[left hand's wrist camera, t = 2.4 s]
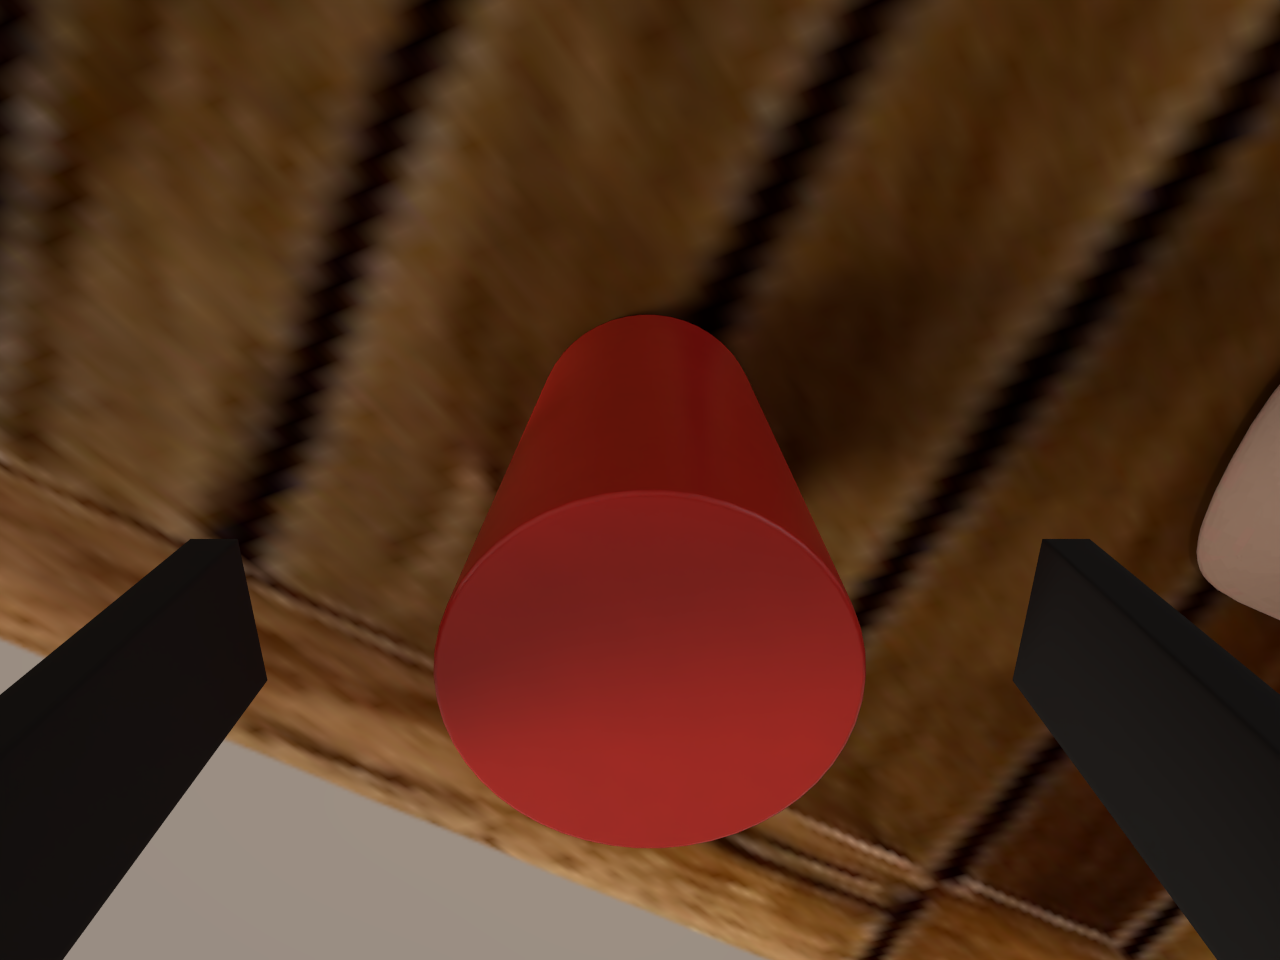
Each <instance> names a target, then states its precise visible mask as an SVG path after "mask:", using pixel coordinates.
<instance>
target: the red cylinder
mask: <svg viewBox="0 0 1280 960" xmlns="http://www.w3.org/2000/svg"><path fill="white" fill-rule="evenodd" d="M865 678H866V662H865V648H864V643H863V637H862V632H861V627H860V624H859V622H858V619H857V616H856V613H855V611H854V608H853V605H852V603H851V601H850V598H849V596H848V594H847V592H846V590H845V588H844V586H843V583H842V581H841V579H840V577H839V575H838V573H837V570H836V568H835V566H834V564H833V562H832V560H831V558H830V555H829V553H828V551H827V549H826V547H825V545H824V542H823V540H822V538H821V536H820V534H819V532H818V530H817V527H816V525H815V523H814V521H813V519H812V517H811V514H810V512H809V510H808V508H807V506H806V504H805V502H804V499H803V497H802V495H801V493H800V491H799V489H798V486H797V484H796V482H795V480H794V478H793V476H792V474H791V471H790V469H789V467H788V465H787V463H786V461H785V458H784V456H783V454H782V452H781V450H780V448H779V446H778V443H777V441H776V439H775V437H774V435H773V433H772V430H771V428H770V426H769V424H768V422H767V420H766V418H765V415H764V413H763V411H762V409H761V407H760V405H759V402H758V400H757V398H756V396H755V394H754V392H753V390H752V387H751V385H750V383H749V381H748V379H747V377H746V375H745V373H744V371H743V369H742V367H741V365H740V364H739V362H738V361H737V360H736V358H735V357H734V356H733V354H732V353H731V352H730V351H729V350H728V349H727V348H726V347H725V346H724V345H723V344H722V343H721V342H720V341H719V340H718V339H716V338H715V337H714V336H712V335H711V334H710V333H708V332H706V331H705V330H703V329H701V328H700V327H698V326H696V325H693V324H691V323H688V322H686V321H683V320H680V319H676V318H672V317H667V316H660V315H635V316H628V317H623V318H619V319H615V320H612V321H609V322H607V323H604V324H602V325H599V326H597V327H596V328H594V329H592V330H590V331H589V332H587V333H585V334H584V335H583V336H581V337H580V338H579V339H577V340H576V341H575V342H574V343H573V344H572V345H571V346H570V347H569V348H568V349H567V350H566V351H565V352H564V353H563V354H562V356H561V357H560V358H559V360H558V361H557V362H556V364H555V365H554V367H553V369H552V371H551V373H550V375H549V376H548V379H547V381H546V383H545V385H544V388H543V390H542V392H541V394H540V397H539V399H538V401H537V403H536V406H535V408H534V410H533V412H532V415H531V417H530V419H529V421H528V424H527V426H526V428H525V430H524V433H523V435H522V437H521V439H520V442H519V444H518V446H517V448H516V451H515V453H514V455H513V457H512V460H511V462H510V464H509V467H508V469H507V471H506V473H505V476H504V478H503V480H502V482H501V485H500V487H499V489H498V491H497V494H496V496H495V498H494V500H493V503H492V505H491V507H490V509H489V512H488V514H487V516H486V518H485V521H484V523H483V525H482V527H481V530H480V532H479V534H478V536H477V539H476V541H475V543H474V545H473V548H472V550H471V552H470V554H469V557H468V559H467V561H466V563H465V566H464V568H463V570H462V572H461V575H460V577H459V579H458V581H457V584H456V586H455V588H454V590H453V593H452V595H451V597H450V599H449V602H448V604H447V607H446V609H445V612H444V615H443V618H442V620H441V623H440V626H439V630H438V635H437V640H436V645H435V650H434V681H435V689H436V697H437V701H438V704H439V708H440V711H441V715H442V719H443V722H444V724H445V726H446V729H447V731H448V733H449V735H450V737H451V740H452V742H453V744H454V745H455V747H456V748H457V750H458V752H459V753H460V755H461V756H462V758H463V759H464V761H465V763H466V764H467V765H468V766H469V767H470V769H471V770H472V771H473V772H474V773H475V775H476V776H477V777H478V778H479V779H480V780H481V781H482V782H483V783H484V784H485V785H486V786H487V787H488V788H489V789H490V790H491V791H492V792H494V793H495V794H496V795H497V796H498V797H499V798H501V799H502V800H503V801H505V802H506V803H507V804H509V805H510V806H512V807H513V808H514V809H516V810H517V811H519V812H520V813H522V814H524V815H526V816H528V817H529V818H531V819H533V820H535V821H536V822H538V823H540V824H543V825H545V826H547V827H550V828H552V829H554V830H557V831H559V832H561V833H564V834H567V835H571V836H574V837H577V838H580V839H583V840H587V841H592V842H597V843H602V844H607V845H612V846H622V847H632V848H667V847H678V846H687V845H693V844H698V843H703V842H708V841H712V840H716V839H719V838H723V837H726V836H729V835H733V834H736V833H738V832H740V831H743V830H745V829H748V828H750V827H752V826H755V825H757V824H759V823H761V822H763V821H765V820H767V819H768V818H770V817H772V816H774V815H776V814H778V813H779V812H781V811H782V810H784V809H785V808H786V807H788V806H789V805H791V804H792V803H794V802H795V801H796V800H798V799H799V798H800V797H802V796H803V795H804V794H805V793H806V792H807V791H808V790H809V789H810V788H811V787H813V786H814V785H815V784H816V783H817V782H818V781H819V780H820V779H821V777H822V776H823V775H824V774H825V773H826V772H827V770H828V769H829V768H830V767H831V766H832V765H833V763H834V762H835V760H836V759H837V757H838V756H839V754H840V752H841V751H842V749H843V748H844V746H845V745H846V743H847V741H848V738H849V736H850V734H851V732H852V730H853V728H854V726H855V723H856V720H857V717H858V713H859V710H860V707H861V703H862V700H863V693H864V685H865Z"/></svg>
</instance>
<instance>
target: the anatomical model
mask: <svg viewBox="0 0 1280 960" xmlns="http://www.w3.org/2000/svg"><path fill="white" fill-rule="evenodd" d="M1197 560H1198V565H1199V568H1200V570H1201V572H1202V574H1203V576H1204V577H1205V578H1206V579H1207V580H1208V582H1209V583H1211V584H1212V585H1213V586H1214V587H1215V588H1216V589H1218V590H1219V591H1221V592H1223V593H1224V594H1226V595H1228V596H1229V597H1231V598H1233V599H1234V600H1236V601H1238V602H1240V603H1242V604H1244V605H1247V606H1249V607H1251V608H1253V609H1256V610H1258V611H1260V612H1263V613H1265V614H1267V615H1269V616H1272V617H1274V618H1276V619H1279V620H1280V384H1279V386H1278V387H1277V388H1276V389H1275V391H1274V392H1273V393H1272V395H1271V396H1270V398H1269V399H1268V400H1267V402H1266V403H1265V405H1264V406H1263V408H1262V409H1261V411H1260V412H1259V414H1258V415H1257V417H1256V418H1255V420H1254V421H1253V422H1252V424H1251V426H1250V427H1249V429H1248V431H1247V433H1246V434H1245V436H1244V438H1243V440H1242V441H1241V443H1240V445H1239V447H1238V448H1237V450H1236V452H1235V454H1234V455H1233V457H1232V459H1231V461H1230V463H1229V465H1228V467H1227V469H1226V471H1225V473H1224V475H1223V477H1222V479H1221V481H1220V483H1219V485H1218V487H1217V489H1216V490H1215V492H1214V495H1213V497H1212V500H1211V503H1210V505H1209V508H1208V510H1207V513H1206V515H1205V518H1204V520H1203V523H1202V526H1201V529H1200V533H1199V538H1198V545H1197Z"/></svg>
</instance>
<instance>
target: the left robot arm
mask: <svg viewBox="0 0 1280 960" xmlns="http://www.w3.org/2000/svg"><path fill="white" fill-rule="evenodd" d="M266 681H267V676H266V671H265V667H264V662H263V657H262V653H261V648H260V643H259V638H258V634H257V629H256V624H255V619H254V615H253V610H252V605H251V601H250V596H249V591H248V586H247V582H246V577H245V572H244V567H243V563H242V558H241V553H240V549H239V544H238V539H190V540H189V541H188V542H186V543H185V544H184V545H183V546H182V547H180V548H179V549H178V550H177V551H175V552H174V553H173V554H172V555H171V556H169V557H168V558H167V559H166V560H164V561H163V562H162V563H161V564H160V565H158V566H157V567H156V568H155V569H153V570H152V571H151V572H150V573H149V574H147V575H146V576H145V577H144V578H142V579H141V580H140V581H139V582H138V583H136V584H135V585H134V586H133V587H131V588H130V589H129V590H128V591H127V592H125V593H124V594H123V595H122V596H120V597H119V598H118V599H117V600H116V601H114V602H113V603H112V604H111V605H109V606H108V607H107V608H106V609H105V610H103V611H102V612H101V613H100V614H98V615H97V616H96V617H95V618H94V619H92V620H91V621H90V622H89V623H87V624H86V625H85V626H84V627H83V628H81V629H80V630H79V631H78V632H76V633H75V634H74V635H73V636H72V637H70V638H69V639H68V640H67V641H65V642H64V643H63V644H62V645H61V646H59V647H58V648H57V649H56V650H54V651H53V652H52V653H51V654H50V655H48V656H47V657H46V658H45V659H43V660H42V661H41V662H40V663H39V664H37V665H36V666H35V667H34V668H32V669H31V670H30V671H29V672H28V673H26V674H25V675H24V676H23V677H21V678H20V679H19V680H18V681H17V682H15V683H14V684H13V685H12V686H10V687H9V688H8V689H7V690H6V691H4V692H3V693H2V694H1V695H0V960H63V959H64V957H65V956H66V955H67V953H68V952H69V950H70V949H71V948H72V946H73V945H74V944H75V942H76V941H77V939H78V938H79V937H80V935H81V934H82V933H83V931H84V930H85V929H86V927H87V926H88V925H89V923H90V922H91V920H92V919H93V918H94V916H95V915H96V914H97V912H98V911H99V910H100V908H101V907H102V905H103V904H104V903H105V901H106V900H107V899H108V897H109V896H110V894H111V893H112V892H113V890H114V889H115V888H116V886H117V885H118V884H119V882H120V881H121V879H122V878H123V877H124V875H125V874H126V873H127V871H128V870H129V869H130V867H131V866H132V864H133V863H134V862H135V860H136V859H137V858H138V856H139V855H140V854H141V852H142V851H143V849H144V848H145V847H146V845H147V844H148V843H149V841H150V840H151V838H152V837H153V836H154V834H155V833H156V832H157V830H158V829H159V828H160V826H161V825H162V823H163V822H164V821H165V819H166V818H167V817H168V815H169V814H170V812H171V811H172V810H173V808H174V807H175V806H176V804H177V803H178V802H179V800H180V799H181V798H182V796H183V795H184V793H185V792H186V791H187V789H188V788H189V787H190V785H191V784H192V782H193V781H194V780H195V778H196V777H197V776H198V774H199V773H200V772H201V770H202V769H203V767H204V766H205V765H206V763H207V762H208V761H209V759H210V758H211V756H212V755H213V754H214V752H215V751H216V750H217V748H218V747H219V746H220V744H221V743H222V742H223V740H224V739H225V737H226V736H227V735H228V733H229V732H230V731H231V729H232V728H233V726H234V725H235V724H236V722H237V721H238V720H239V718H240V717H241V716H242V714H243V713H244V711H245V710H246V709H247V707H248V706H249V705H250V703H251V702H252V701H253V699H254V698H255V696H256V695H257V694H258V692H259V691H260V690H261V688H262V687H263V686H264V684H265V683H266ZM1013 681H1014V683H1015V684H1016V686H1017V687H1018V688H1019V690H1020V691H1021V692H1022V694H1023V695H1024V696H1025V698H1026V699H1027V701H1028V702H1029V703H1030V705H1031V706H1032V707H1033V709H1034V710H1035V711H1036V713H1037V714H1038V716H1039V717H1040V718H1041V720H1042V721H1043V722H1044V724H1045V725H1046V726H1047V728H1048V729H1049V731H1050V732H1051V733H1052V735H1053V736H1054V737H1055V739H1056V740H1057V742H1058V743H1059V744H1060V746H1061V747H1062V748H1063V750H1064V751H1065V752H1066V754H1067V755H1068V757H1069V758H1070V759H1071V761H1072V762H1073V763H1074V765H1075V766H1076V767H1077V769H1078V770H1079V772H1080V773H1081V774H1082V776H1083V777H1084V778H1085V780H1086V781H1087V782H1088V784H1089V785H1090V787H1091V788H1092V789H1093V791H1094V792H1095V793H1096V795H1097V796H1098V798H1099V799H1100V800H1101V802H1102V803H1103V804H1104V806H1105V807H1106V808H1107V810H1108V811H1109V813H1110V814H1111V815H1112V817H1113V818H1114V819H1115V821H1116V822H1117V823H1118V825H1119V826H1120V828H1121V829H1122V830H1123V832H1124V833H1125V834H1126V836H1127V837H1128V839H1129V840H1130V841H1131V843H1132V844H1133V845H1134V847H1135V848H1136V849H1137V851H1138V852H1139V854H1140V855H1141V856H1142V858H1143V859H1144V860H1145V862H1146V863H1147V864H1148V866H1149V867H1150V869H1151V870H1152V871H1153V873H1154V874H1155V875H1156V877H1157V878H1158V879H1159V881H1160V882H1161V884H1162V885H1163V886H1164V888H1165V889H1166V890H1167V892H1168V893H1169V895H1170V896H1171V897H1172V899H1173V900H1174V901H1175V903H1176V904H1177V905H1178V907H1179V908H1180V910H1181V911H1182V912H1183V914H1184V915H1185V916H1186V918H1187V919H1188V920H1189V922H1190V923H1191V925H1192V926H1193V927H1194V929H1195V930H1196V931H1197V933H1198V934H1199V935H1200V937H1201V938H1202V940H1203V941H1204V942H1205V944H1206V945H1207V946H1208V948H1209V949H1210V951H1211V952H1212V953H1213V955H1214V956H1215V957H1216V959H1217V960H1280V695H1279V694H1278V693H1277V692H1276V691H1274V690H1273V689H1272V688H1271V687H1270V686H1268V685H1267V684H1266V683H1265V682H1263V681H1262V680H1261V679H1260V678H1259V677H1257V676H1256V675H1255V674H1254V673H1252V672H1251V671H1250V670H1249V669H1248V668H1246V667H1245V666H1244V665H1243V664H1241V663H1240V662H1239V661H1238V660H1237V659H1235V658H1234V657H1233V656H1232V655H1230V654H1229V653H1228V652H1227V651H1226V650H1224V649H1223V648H1222V647H1221V646H1219V645H1218V644H1217V643H1216V642H1215V641H1213V640H1212V639H1211V638H1210V637H1208V636H1207V635H1206V634H1205V633H1204V632H1202V631H1201V630H1200V629H1199V628H1197V627H1196V626H1195V625H1194V624H1193V623H1191V622H1190V621H1189V620H1188V619H1186V618H1185V617H1184V616H1183V615H1182V614H1180V613H1179V612H1178V611H1177V610H1175V609H1174V608H1173V607H1172V606H1171V605H1169V604H1168V603H1167V602H1166V601H1164V600H1163V599H1162V598H1161V597H1160V596H1158V595H1157V594H1156V593H1155V592H1153V591H1152V590H1151V589H1150V588H1149V587H1147V586H1146V585H1145V584H1144V583H1142V582H1141V581H1140V580H1139V579H1138V578H1136V577H1135V576H1134V575H1133V574H1131V573H1130V572H1129V571H1128V570H1127V569H1125V568H1124V567H1123V566H1122V565H1120V564H1119V563H1118V562H1117V561H1116V560H1114V559H1113V558H1112V557H1111V556H1109V555H1108V554H1107V553H1106V552H1105V551H1103V550H1102V549H1101V548H1100V547H1098V546H1097V545H1096V544H1095V543H1094V542H1092V541H1091V540H1090V539H1042V544H1041V549H1040V553H1039V558H1038V563H1037V567H1036V572H1035V577H1034V582H1033V586H1032V591H1031V596H1030V601H1029V605H1028V610H1027V615H1026V619H1025V624H1024V629H1023V634H1022V638H1021V643H1020V648H1019V653H1018V657H1017V662H1016V667H1015V671H1014V676H1013Z"/></svg>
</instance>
